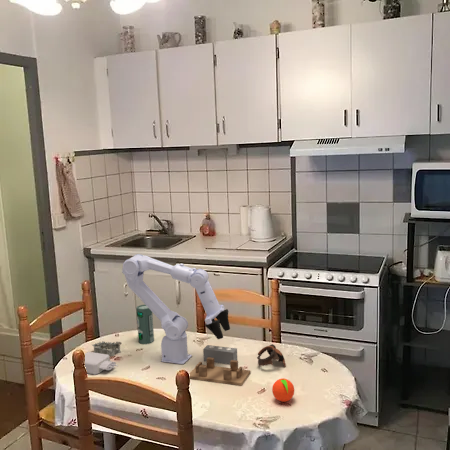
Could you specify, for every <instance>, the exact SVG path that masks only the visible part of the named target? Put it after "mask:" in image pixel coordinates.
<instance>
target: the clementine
mask: <svg viewBox="0 0 450 450" xmlns="http://www.w3.org/2000/svg"><path fill="white" fill-rule="evenodd" d="M271 390H272V391H271V392H272V395H273V397H274V398H275V399H276V400H277V401H278V402H283V403H285V402H289V401H290V400H291V399H292V398H293V397H294V395H295V387H294V384H293V382H291V381H290V380H289V379H287V378H282V377H281V378H279V379H277V380H275V382H274V383H273V385H272V389H271Z"/></svg>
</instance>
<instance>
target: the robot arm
mask: <svg viewBox="0 0 450 450" xmlns="http://www.w3.org/2000/svg"><path fill="white" fill-rule="evenodd" d="M149 270H152V271H156V272H160V273H162V274H167V275H170V276H171V278H172V279H173V280H175V281H176V280H177V281H180V282H183V283H185V284H189V285H190V286H191V287H192V288H194V289H195V291H196V294H197V296H198V298H199V301H200V303H201V305H202V307H203V309H204V311H205V314H206V315H205V319H204V322H205V323H204V327H205V328H206V329H207V330H209V331H210V332H211V333H212V334H213V335H214V336H215V338H216V339H217V340H221V339H223V338H224V335H223V331H222V329H223V330H224V332H226V331H229V330H230V329H231V327H230V320H229V309H228V308H226V307H225V306H224V304H220V302H219V301H218V298H217V296H216V293H215V291H214V290H213V288H212V285H211V283H210V280H209V273H208V272H207V271H206V270H205V269H203V268H196V267H191V266H190V267H189V266H187V265H185V264H184V263H180V264H179V263H176V264H175V265H172V264H169V263H167V262H164V261H162V260H158V259H156V258H152V256H151V257H150V256H148V255H146V254H145V255H143V254H142V253H141V254H140V253H137V254H134V255H133V256H132V257H130V258H127V259H126V260H125V261H124V262H123V263H122V269H121V273H122V274H123V275H124V277H125V280H126V283H127V286H128V288H129V289H130V290H131V291H132V292H133V293H134V294H135V295H136V297H137V298H139V299H140V301H141V302H142V303H143V305H146V306H147V307H148V308H149V309H150V310H151V311H152V314H153V315H154V316H156V318H157V319H158V320H159V321H160V326H161V329H162V330H163V331H164V333H165V335H164V336H163V337H162V339H161V343H160V344H161V345H160V347H161V348H160V349H161V350H160V351H161V360H160V362H163V363H171V364H172V363H173V364H179V365H185V364H186V362H188V361H189V359H191V358H192V356H193V355H192V354H189V353H188V351H189V350H188V336H187V332H186V330H187V329H188V327H189V323H188V320H187V318H186V317H184V316H182V315H180V314H179V313H178V312H176V311H173V310H171V308H169V307H168V306H167V305H166V304H165V303H164V302H163V301H162V299H160V297H159V296H158V295H157V294H156V293H155V292H154V291H153V290H152V289H151V287H150V286H148V285H147V284H146V282H144V273H145V272H146V271H149Z"/></svg>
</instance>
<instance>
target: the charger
mask: <svg viewBox="0 0 450 450" xmlns="http://www.w3.org/2000/svg"><path fill="white" fill-rule="evenodd" d="M84 354H85V367H86V370H87V372H88V373H87V374H90V375H95V376H96V375H98V374H100V373H101V372H102V371H110V370H112V369H115V368H116V367H118V364H116V362H115V361H111V360H110V359H111V358H110V357H111V356H109V355H107V354H100V353H94V351H93V352H91V351H87V352H85V353H84Z"/></svg>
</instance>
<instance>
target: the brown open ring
mask: <svg viewBox="0 0 450 450" xmlns="http://www.w3.org/2000/svg"><path fill="white" fill-rule="evenodd" d="M266 352H267V353H268V355H269V356H267V357H265V358H261V356H262V355H264V353H266ZM257 355H258V356H257V357H256V358H257V365H258V366H259V367H260V366H262V367H264V366H269V365H270V366H273V365H274V364H273V361H276V360H278V363H282V364H283V367H284V368H286V366H287V364H286V359H285V357H284V354H283V353H282V352H281V350H279V349H278V348H276V345H275V344H270V345H267V346H264V347H263V348H262V349H260V350H259V351H258V352H257Z"/></svg>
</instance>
